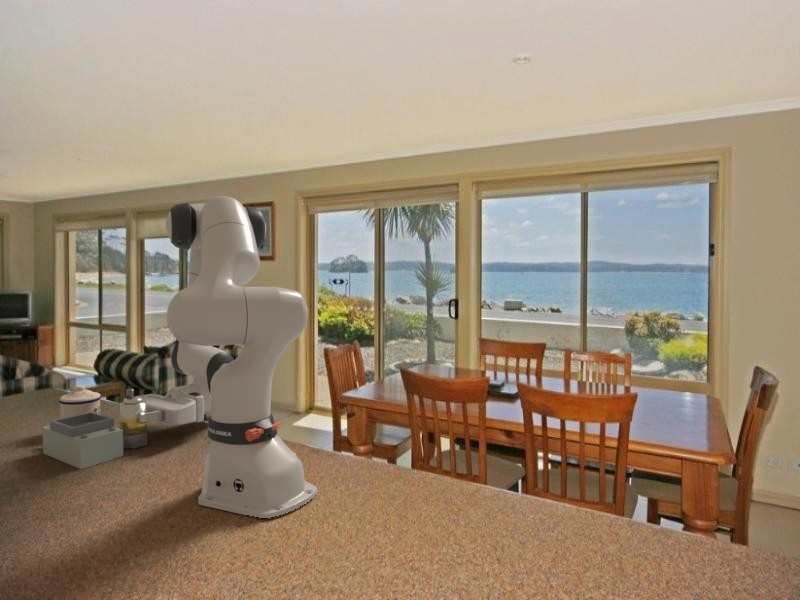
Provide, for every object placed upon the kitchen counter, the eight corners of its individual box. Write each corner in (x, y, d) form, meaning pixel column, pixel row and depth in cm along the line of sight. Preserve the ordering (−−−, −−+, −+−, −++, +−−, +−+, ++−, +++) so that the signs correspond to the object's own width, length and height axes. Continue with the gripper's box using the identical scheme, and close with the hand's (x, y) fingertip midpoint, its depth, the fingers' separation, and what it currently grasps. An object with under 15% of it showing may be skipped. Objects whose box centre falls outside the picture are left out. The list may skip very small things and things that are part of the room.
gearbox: (123, 456, 117) (122, 421, 117) (81, 469, 110) (80, 431, 109) (76, 439, 128) (75, 406, 127) (34, 449, 120) (33, 415, 120)
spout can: (152, 443, 125) (151, 389, 124) (129, 450, 121) (128, 394, 120) (138, 439, 128) (137, 386, 127) (115, 445, 124) (114, 390, 123)
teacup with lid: (98, 435, 131) (97, 389, 130) (55, 439, 127) (54, 391, 127) (105, 421, 142) (105, 379, 141) (66, 424, 139) (65, 381, 138)
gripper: (157, 385, 140) (104, 396, 128) (207, 397, 129) (155, 409, 118) (157, 409, 141) (105, 421, 129) (207, 422, 130) (156, 437, 118)
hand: (129, 416), depth 123 cm, fingers closed on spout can, 6 cm apart
